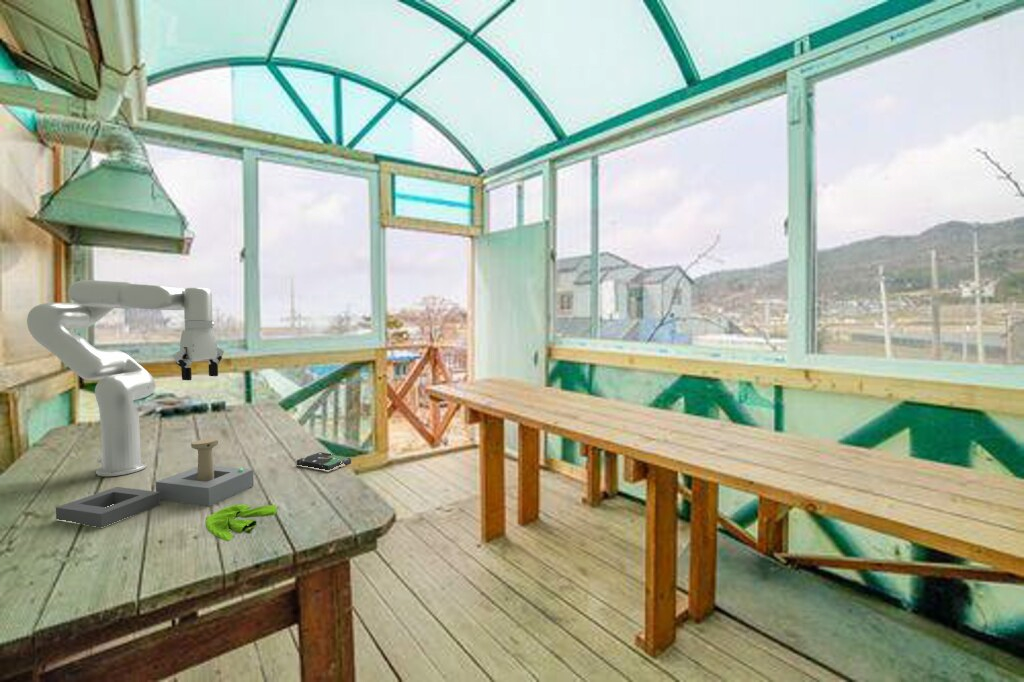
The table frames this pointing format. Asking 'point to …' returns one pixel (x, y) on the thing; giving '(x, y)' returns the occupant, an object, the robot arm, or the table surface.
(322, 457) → the disk drive
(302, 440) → the table surface
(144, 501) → the grey square frame
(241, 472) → the port block
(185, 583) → the table surface
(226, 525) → the cloth
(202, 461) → the handle
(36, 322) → the robot arm
